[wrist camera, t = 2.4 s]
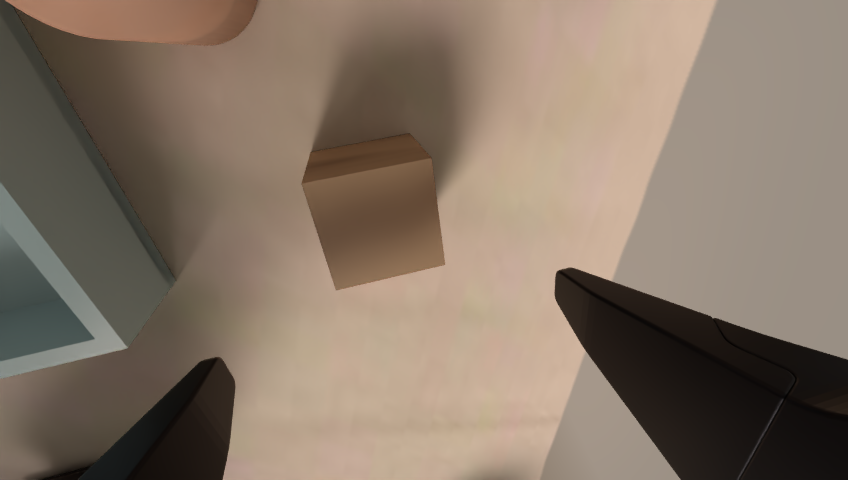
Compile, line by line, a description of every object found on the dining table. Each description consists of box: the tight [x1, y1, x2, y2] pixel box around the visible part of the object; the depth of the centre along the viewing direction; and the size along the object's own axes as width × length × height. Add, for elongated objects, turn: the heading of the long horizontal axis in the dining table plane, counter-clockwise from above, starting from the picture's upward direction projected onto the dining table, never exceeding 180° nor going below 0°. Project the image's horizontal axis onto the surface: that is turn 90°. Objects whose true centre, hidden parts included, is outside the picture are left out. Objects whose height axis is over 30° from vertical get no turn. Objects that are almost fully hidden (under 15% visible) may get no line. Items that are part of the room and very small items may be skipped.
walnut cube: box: [302, 134, 445, 290], centre depth 17 cm, size 5×5×5 cm
